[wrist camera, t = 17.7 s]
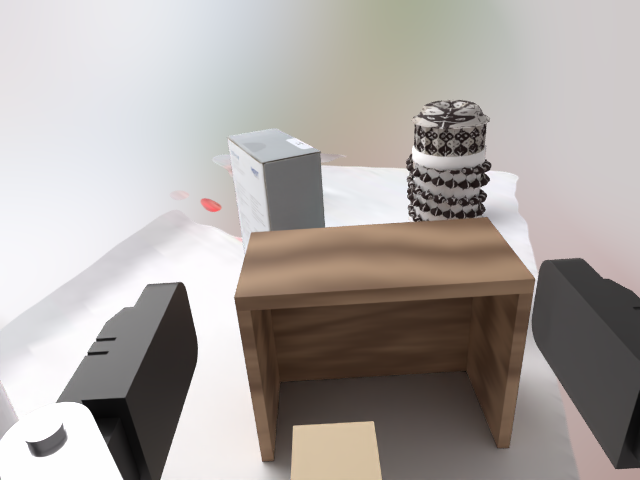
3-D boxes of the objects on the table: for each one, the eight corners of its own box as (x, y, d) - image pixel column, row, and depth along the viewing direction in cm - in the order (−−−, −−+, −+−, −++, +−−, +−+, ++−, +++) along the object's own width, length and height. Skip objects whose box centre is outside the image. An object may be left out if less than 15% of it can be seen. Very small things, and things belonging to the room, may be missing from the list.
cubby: (509, 447, 43) (535, 278, 35) (262, 461, 43) (234, 297, 35) (472, 364, 52) (487, 217, 45) (271, 376, 53) (251, 232, 45)
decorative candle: (423, 331, 58) (431, 119, 47) (392, 291, 66) (393, 102, 55) (492, 314, 60) (516, 107, 49) (454, 278, 68) (467, 92, 57)
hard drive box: (331, 294, 66) (322, 151, 57) (278, 311, 64) (260, 163, 55) (289, 249, 79) (276, 125, 70) (243, 261, 76) (224, 134, 67)
